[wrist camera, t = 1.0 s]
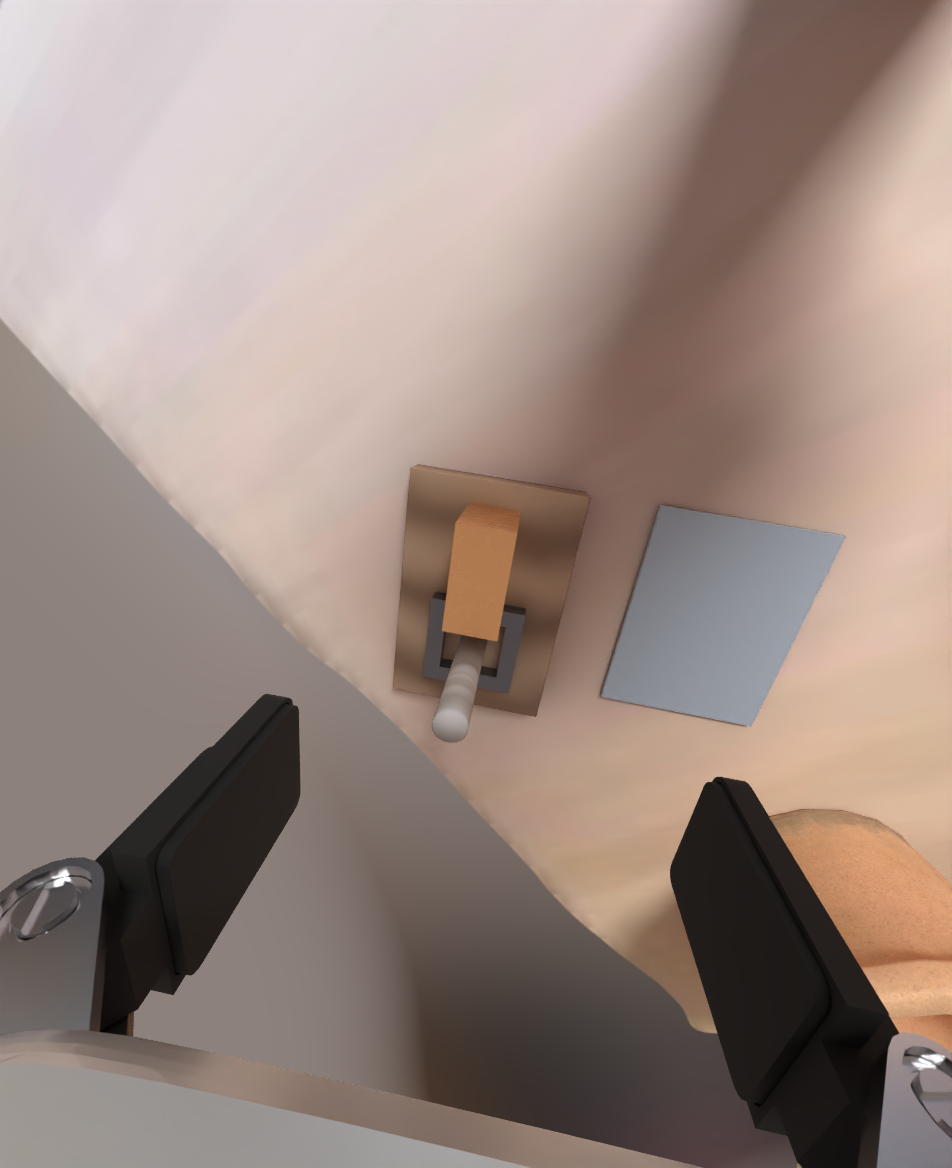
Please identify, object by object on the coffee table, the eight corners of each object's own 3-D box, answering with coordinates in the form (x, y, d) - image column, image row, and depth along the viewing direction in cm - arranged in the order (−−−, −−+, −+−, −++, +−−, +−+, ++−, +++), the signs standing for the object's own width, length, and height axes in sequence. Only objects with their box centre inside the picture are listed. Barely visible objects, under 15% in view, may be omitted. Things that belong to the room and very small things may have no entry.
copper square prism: (445, 498, 30) (426, 517, 25) (545, 515, 29) (546, 538, 24) (426, 668, 35) (407, 712, 30) (510, 684, 35) (505, 732, 30)
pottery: (650, 818, 41) (703, 1017, 27) (927, 755, 34) (1167, 972, 21) (719, 958, 47) (790, 1176, 34) (964, 926, 41) (1170, 1177, 27)
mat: (660, 504, 30) (661, 505, 29) (842, 535, 29) (845, 536, 29) (600, 694, 36) (601, 697, 36) (748, 723, 35) (751, 726, 35)
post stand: (418, 464, 31) (351, 497, 20) (586, 492, 30) (614, 543, 19) (399, 674, 38) (343, 784, 27) (536, 701, 37) (535, 825, 26)
